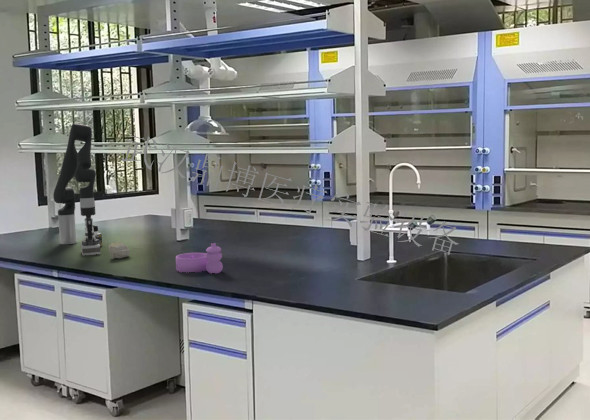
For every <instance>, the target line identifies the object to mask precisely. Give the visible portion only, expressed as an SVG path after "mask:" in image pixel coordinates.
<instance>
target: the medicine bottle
mask: <svg viewBox="0 0 590 420" xmlns="http://www.w3.org/2000/svg"><path fill="white" fill-rule="evenodd" d="M93 228H94V239H98V240H99V244H100V247H101V246H103V237H102V236H103V235H102V232H99V226H98V225H95V224H93ZM83 237H84V239H83V240H86V237H85V234H84V235H83Z"/></svg>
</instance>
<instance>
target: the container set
mask: <svg viewBox="0 0 590 420" xmlns="http://www.w3.org/2000/svg"><path fill="white" fill-rule="evenodd" d="M222 258H223V253H222V248H221V247H220V246H218V245H217V243H216V242H214V243H210V246H209V247H207V248H206V249H205V252H187V253H186V252H185V253H181V254H177V255H176V256H175V270H177V271H176V272H178V271H179V272H178V273H182V272H186V273H185V274H190V273H189V272H195V273H203V272H206V271H207V272H208V273H209V274H212V273H215V274H219V273H221V272H222V270H223V267H224V265H223V263H222V262H221V259H222ZM202 271H203V272H202ZM187 272H188V273H187Z"/></svg>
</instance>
